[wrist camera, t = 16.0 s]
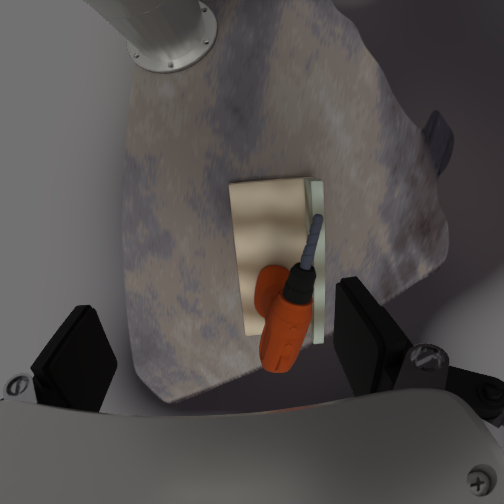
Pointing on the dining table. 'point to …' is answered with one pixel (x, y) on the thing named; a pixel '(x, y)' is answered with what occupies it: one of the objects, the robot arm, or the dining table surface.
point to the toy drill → (286, 305)
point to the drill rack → (277, 239)
